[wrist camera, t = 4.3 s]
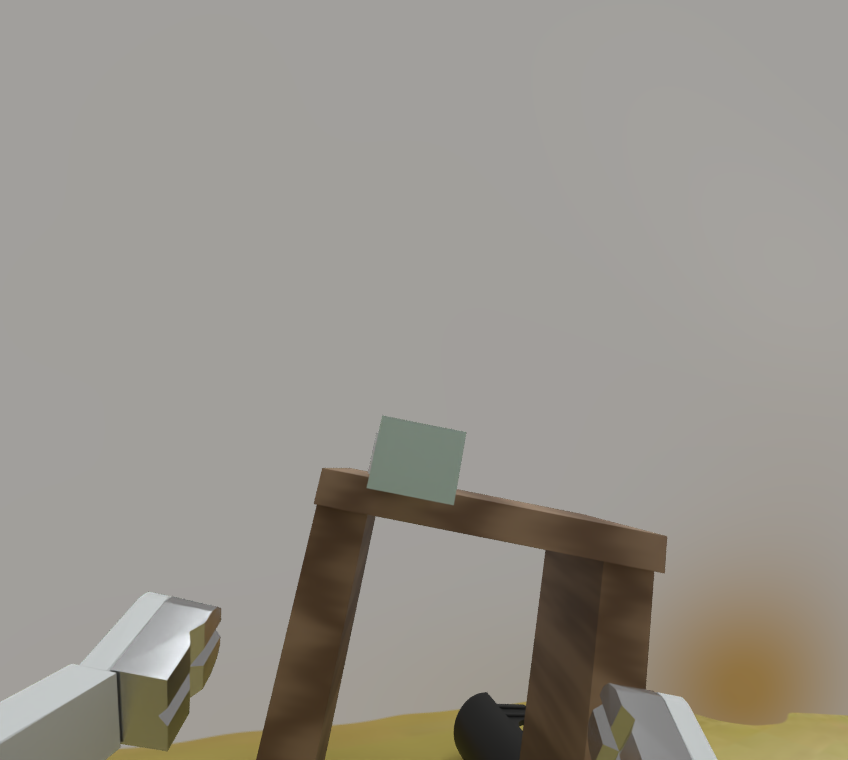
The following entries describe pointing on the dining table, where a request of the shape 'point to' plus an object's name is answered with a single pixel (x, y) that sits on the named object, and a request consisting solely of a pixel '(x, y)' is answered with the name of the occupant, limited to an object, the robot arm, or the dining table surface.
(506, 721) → the end cap
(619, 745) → the robot arm
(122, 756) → the dining table surface
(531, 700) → the shelf
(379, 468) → the pale green bar
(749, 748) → the dining table surface
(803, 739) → the dining table surface
